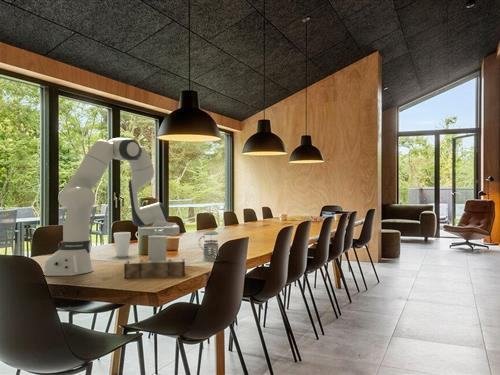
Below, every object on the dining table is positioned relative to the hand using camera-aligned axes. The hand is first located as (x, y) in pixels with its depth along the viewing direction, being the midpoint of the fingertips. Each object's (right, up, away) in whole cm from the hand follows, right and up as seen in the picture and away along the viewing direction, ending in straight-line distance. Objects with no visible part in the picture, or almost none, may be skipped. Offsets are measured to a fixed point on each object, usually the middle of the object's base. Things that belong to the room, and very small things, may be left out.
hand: (158, 232), depth 206 cm
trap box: (+4, -16, -22) cm, 28 cm away
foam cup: (-28, -17, +35) cm, 49 cm away
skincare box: (+1, -17, -8) cm, 19 cm away
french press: (+23, -17, +20) cm, 35 cm away
